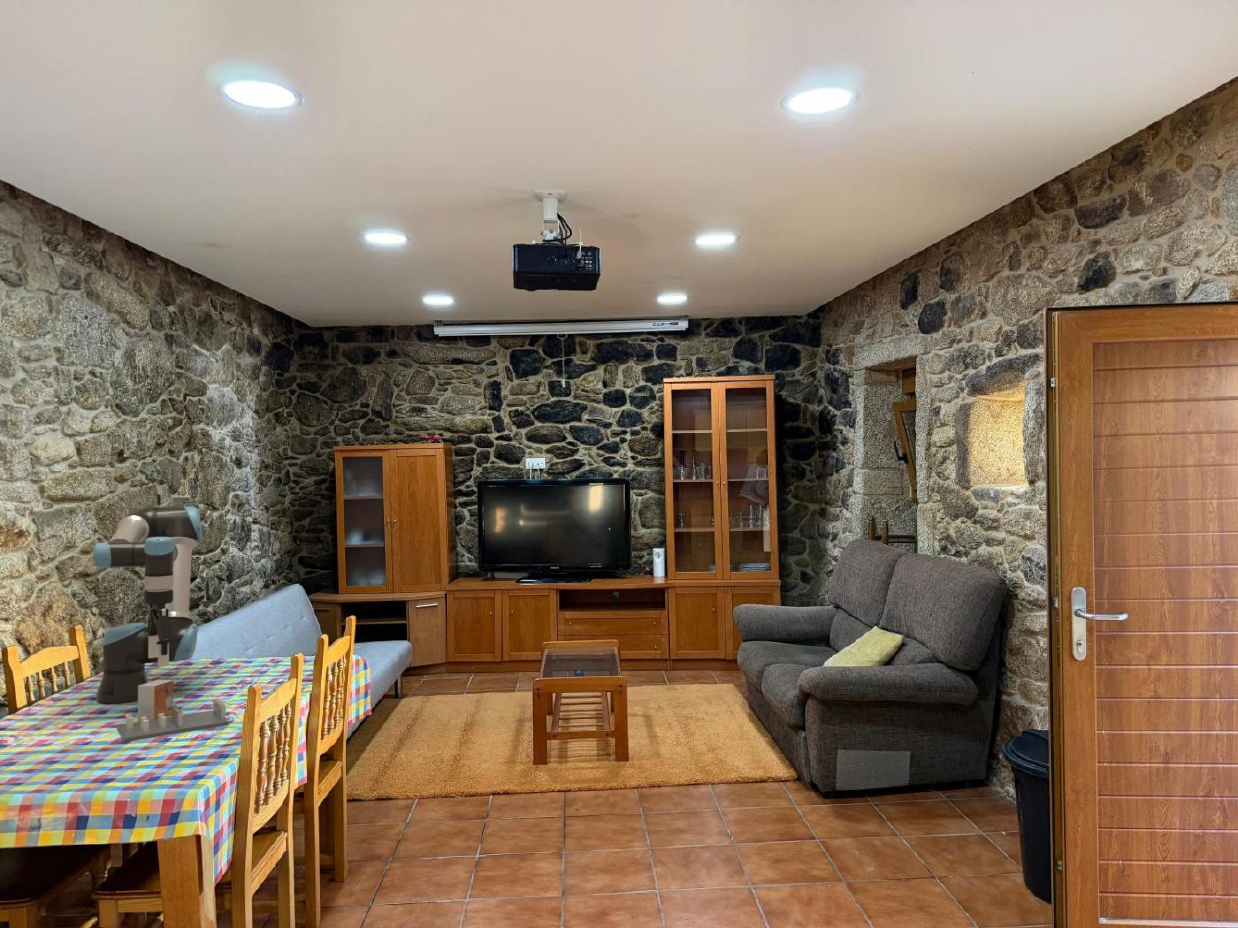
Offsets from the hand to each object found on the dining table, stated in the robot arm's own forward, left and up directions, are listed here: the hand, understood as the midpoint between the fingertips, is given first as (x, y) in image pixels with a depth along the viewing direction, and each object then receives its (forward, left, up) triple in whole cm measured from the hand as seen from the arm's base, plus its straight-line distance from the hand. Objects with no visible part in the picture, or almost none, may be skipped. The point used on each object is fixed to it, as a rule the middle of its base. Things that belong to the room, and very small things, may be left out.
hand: (158, 661), depth 253 cm
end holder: (+13, +8, -17) cm, 22 cm away
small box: (0, -1, -17) cm, 17 cm away
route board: (+12, +2, -17) cm, 21 cm away
